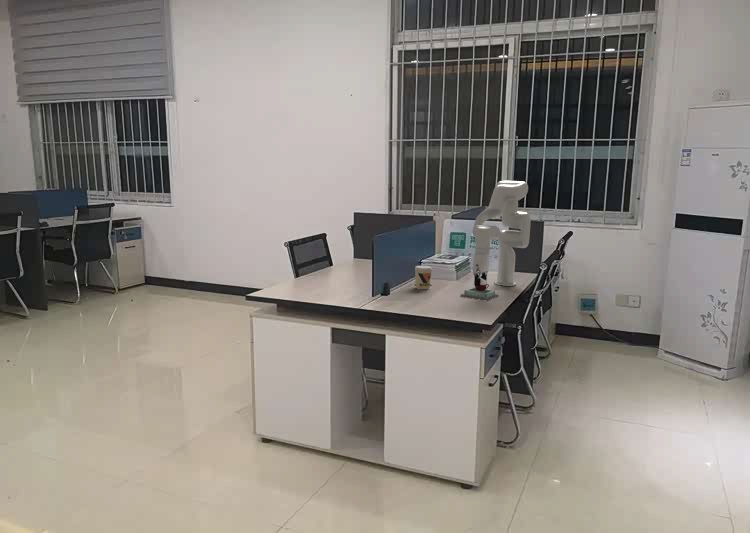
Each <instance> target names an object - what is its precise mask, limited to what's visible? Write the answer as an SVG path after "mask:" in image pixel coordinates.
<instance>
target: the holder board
mask: <svg viewBox="0 0 750 533" xmlns="http://www.w3.org/2000/svg"><path fill="white" fill-rule="evenodd" d="M497 296H498V297H499V296H500V295H499V293H496V290H492V289H488V288H487V289H485V290H484V291H477V290H476V289H475V286H473V287H470V288H467V289H464V291H463V293H461V294H460V297H462V298H466V297H467V298H468V299H472V298H474V299H473V300H478V299H480V300H479V301H484V300H488V301H490V299H491V300H493V299H495V297H496V298H498V297H497ZM467 298H466V299H467ZM492 298H493V299H492Z"/></svg>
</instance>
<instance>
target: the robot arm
mask: <svg viewBox="0 0 750 533" xmlns="http://www.w3.org/2000/svg"><path fill="white" fill-rule="evenodd" d="M528 191H529V185H528V183H527V182H525V181H519V180H518V181H517V180H500V181H498V182H497V183H496V185H495V186H494V188H493V193H492V195H491V198H490V201H489V204H488V207H487V208H486V209H484V210H483V211H481V212H480V213H479V214H478V215H477V216H476V218H475V221H474V223H473V228H472V230H471V231H472V232H471V233H472V237H474V238H475V242H474V243H475V244H474V245H475V246H474V255H473V263H472V267H473V269H472V273H473V275H474V277H473V278H474V280H473V285H474V287H475V286H480V281H481V278H482V279H484V280H486V281H488V280H487V279H488V278H487V276H488V273H489V267H490V252H491V251H490V250H491V241H496V240H497V242H498V258H497V259H498V260H497V274H496V275H497V276H496V280H494V281H493V284H494V285H496V286H497V285H498V286H501V285H502V286H504V287H513V286H514V287H515V286H516V285H517V282H516V281H515V279H516V276H515V268H516V267H515V266H516V252H515V250H514V249H513V248H520V249H525V248H527V247H528V246H529V243H530V235H531V233H530V232H531V223H532V222H531V216H530V214H529V212H525V211H519V202H518V201H520V200H521V199H523V198H525V197H526V196H527V194H528ZM498 216H501V223H502V224H501V225H502V226H503V227H505V228H510V229H503V230H500V228H499V227H498V226H496V225H489V224H488V225H487V224H484V223H485V222H486V221H488V220H490V219H493V218H496V217H498ZM514 229H515V230H514ZM516 229H519V230H516Z"/></svg>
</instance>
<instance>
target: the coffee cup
mask: <svg viewBox="0 0 750 533" xmlns="http://www.w3.org/2000/svg"><path fill="white" fill-rule="evenodd" d="M432 270H433V267H432V266H430V265H415V268H414V274H415V276H414V278H415V279H414V280H415V281H414V282H415V289H416V288H417V290H420V289H428V290H430V289H429V288H431V280H432Z"/></svg>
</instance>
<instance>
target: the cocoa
mask: <svg viewBox="0 0 750 533" xmlns="http://www.w3.org/2000/svg"><path fill="white" fill-rule="evenodd" d="M472 270H473V266H472ZM480 278H481V277H480ZM489 286H490V284H488V280H484V279H482V278H481V281H480V286H475V285H474V287H475V289H476V290H477V291H484V290H485V289H487V290H488V288H489Z"/></svg>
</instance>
